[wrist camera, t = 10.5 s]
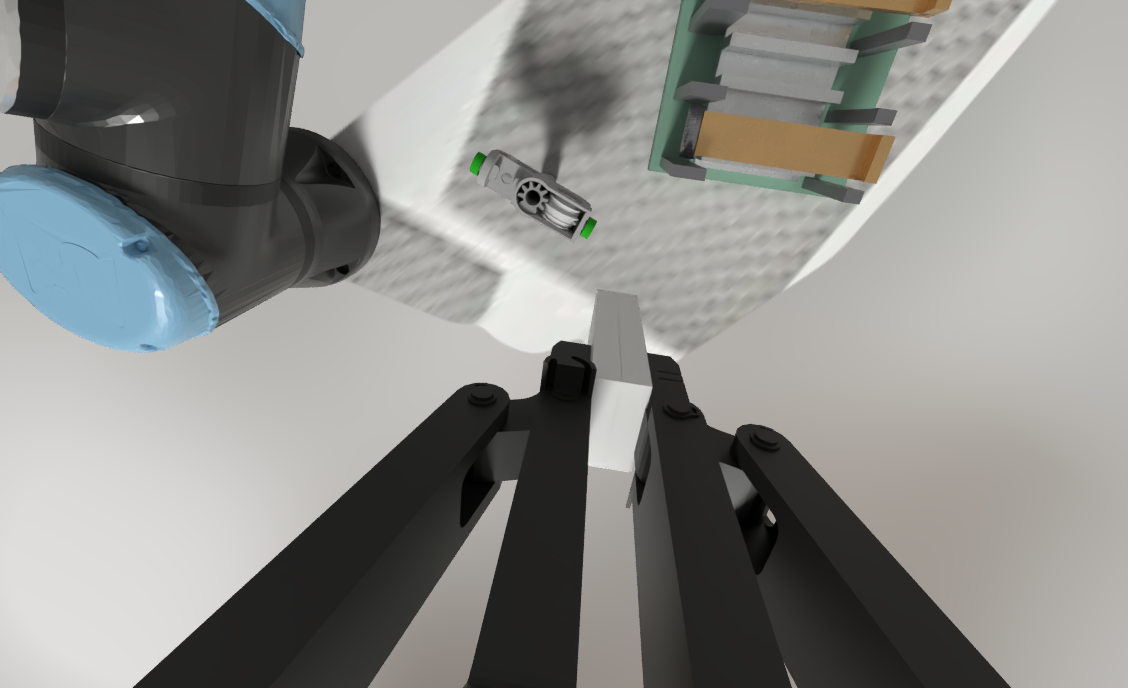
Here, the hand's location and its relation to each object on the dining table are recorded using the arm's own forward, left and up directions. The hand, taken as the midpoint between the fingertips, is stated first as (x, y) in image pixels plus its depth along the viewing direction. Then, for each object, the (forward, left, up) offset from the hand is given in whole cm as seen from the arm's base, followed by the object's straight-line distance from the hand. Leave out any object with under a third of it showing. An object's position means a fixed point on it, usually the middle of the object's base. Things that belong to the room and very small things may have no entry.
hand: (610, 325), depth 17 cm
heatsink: (+11, +12, -28) cm, 32 cm away
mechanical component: (-6, +1, -30) cm, 30 cm away
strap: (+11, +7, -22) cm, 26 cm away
